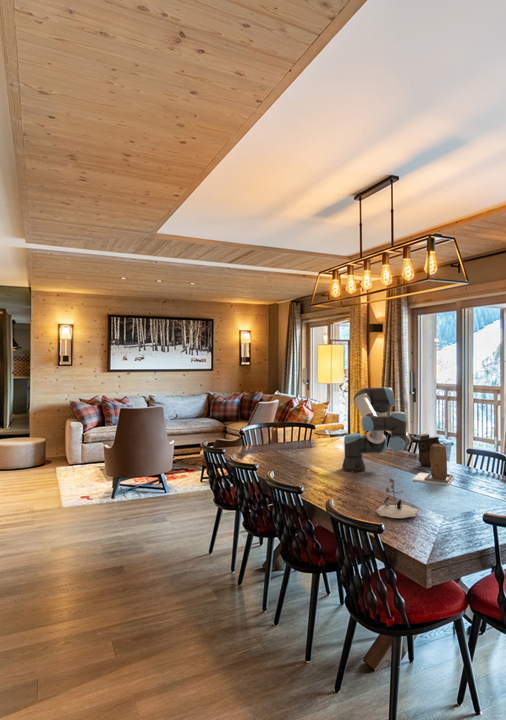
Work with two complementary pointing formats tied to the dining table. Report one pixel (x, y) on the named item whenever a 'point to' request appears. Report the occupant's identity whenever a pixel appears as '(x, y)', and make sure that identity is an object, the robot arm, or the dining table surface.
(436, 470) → the block
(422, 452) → the owl
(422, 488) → the dining table surface
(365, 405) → the robot arm
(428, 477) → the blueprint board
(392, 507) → the figurine
